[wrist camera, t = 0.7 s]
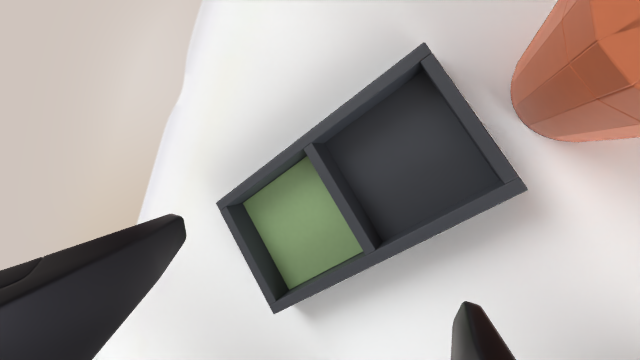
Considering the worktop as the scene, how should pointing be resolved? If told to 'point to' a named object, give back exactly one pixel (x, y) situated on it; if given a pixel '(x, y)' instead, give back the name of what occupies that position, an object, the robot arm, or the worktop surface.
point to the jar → (582, 72)
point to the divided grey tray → (368, 183)
